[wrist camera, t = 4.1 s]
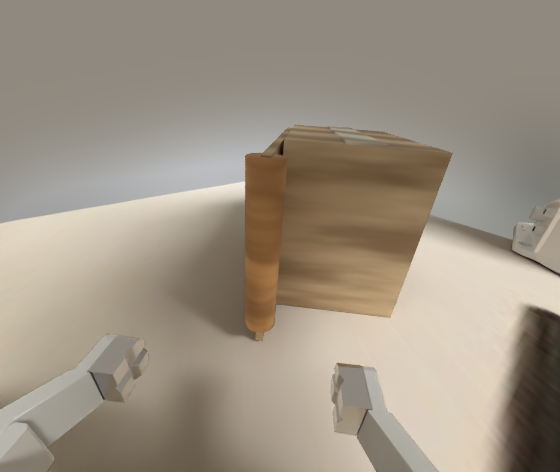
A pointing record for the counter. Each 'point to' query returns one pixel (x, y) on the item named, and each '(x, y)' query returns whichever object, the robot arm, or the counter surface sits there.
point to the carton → (353, 216)
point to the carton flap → (263, 233)
